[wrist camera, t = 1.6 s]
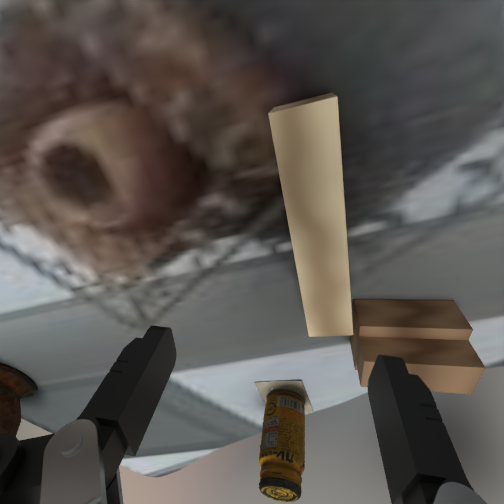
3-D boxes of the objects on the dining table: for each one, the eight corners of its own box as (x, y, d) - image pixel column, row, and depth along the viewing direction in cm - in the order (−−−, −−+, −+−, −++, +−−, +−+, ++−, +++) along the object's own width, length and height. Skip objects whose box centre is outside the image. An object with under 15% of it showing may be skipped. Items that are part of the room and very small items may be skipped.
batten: (331, 92, 21) (337, 96, 18) (347, 304, 32) (353, 335, 28) (274, 106, 22) (268, 113, 19) (308, 307, 33) (308, 336, 30)
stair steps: (453, 300, 29) (491, 356, 23) (438, 344, 33) (467, 403, 27) (354, 299, 31) (365, 350, 25) (350, 341, 35) (359, 395, 29)
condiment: (270, 411, 47) (261, 503, 37) (254, 381, 43) (240, 474, 33) (313, 410, 45) (316, 507, 35) (301, 378, 41) (300, 478, 31)
